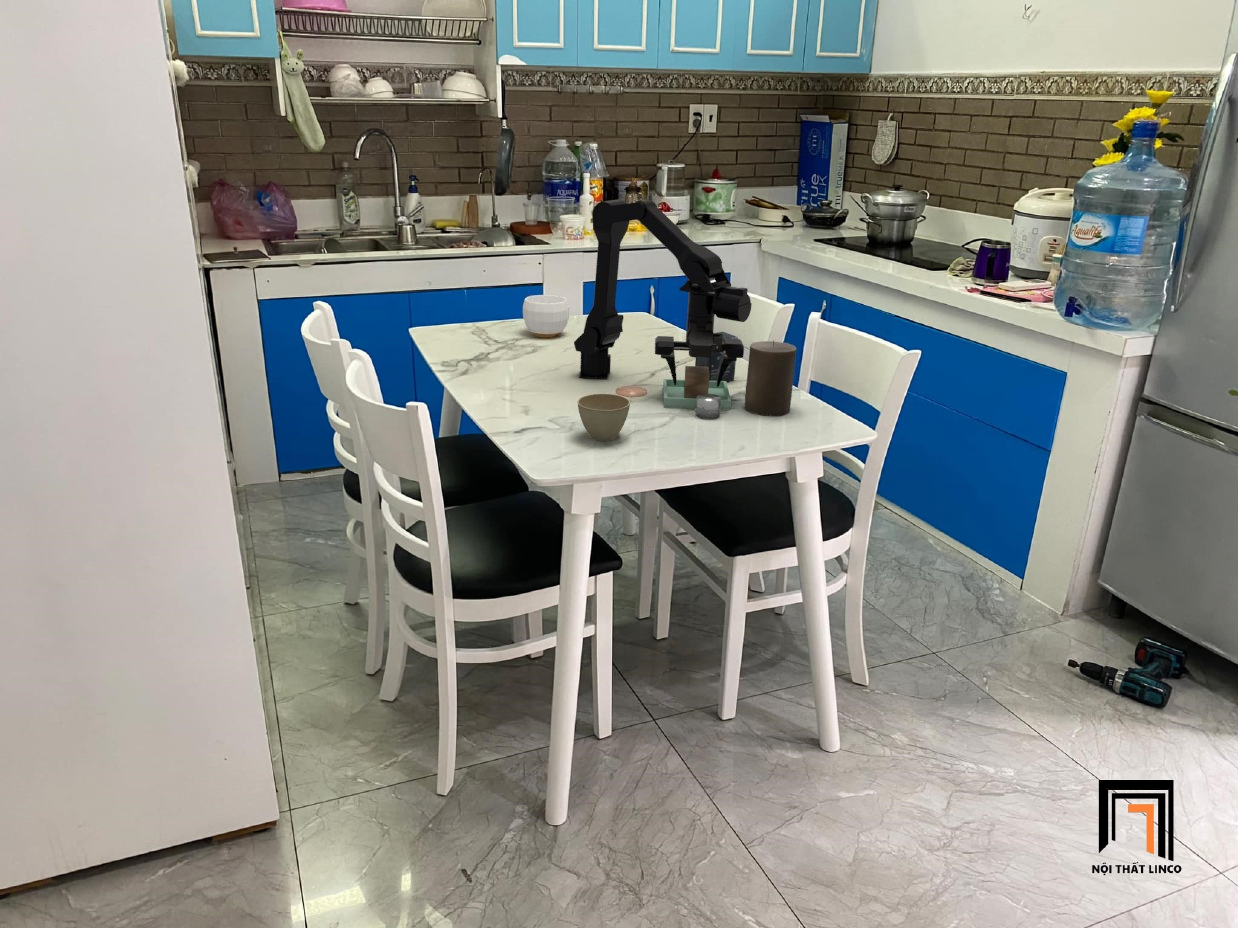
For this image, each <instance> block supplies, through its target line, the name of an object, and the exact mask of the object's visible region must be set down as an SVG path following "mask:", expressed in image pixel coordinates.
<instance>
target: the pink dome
mask: <svg viewBox="0 0 1238 928" xmlns="http://www.w3.org/2000/svg"><path fill="white" fill-rule="evenodd" d="M615 393H616V395H620V396H623V397H626V398H640V397H644V396H646V395H648V393H649V392H648V388H646V387H643V386H638V385H623V386H618V387H617V388H616V389H615Z"/></svg>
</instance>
